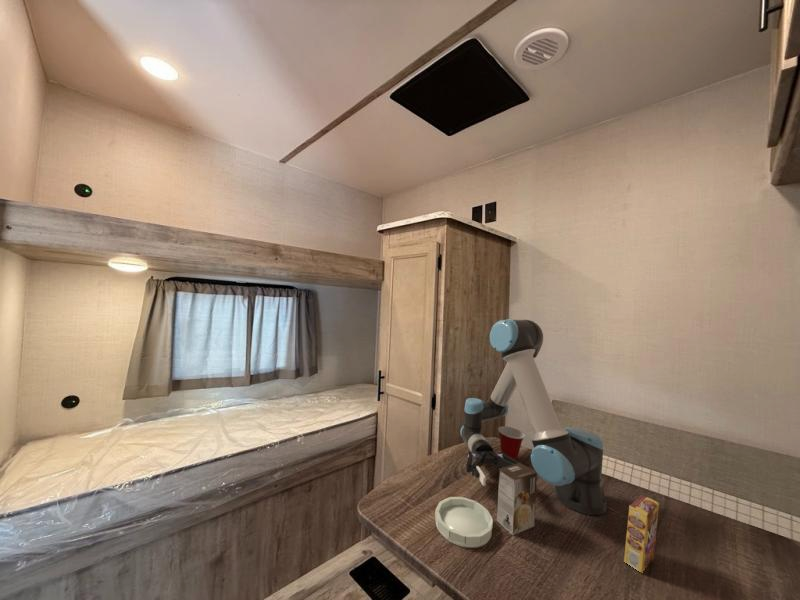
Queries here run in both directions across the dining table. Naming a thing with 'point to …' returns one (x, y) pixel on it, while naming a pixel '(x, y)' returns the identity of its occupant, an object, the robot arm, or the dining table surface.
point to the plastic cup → (510, 441)
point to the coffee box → (516, 498)
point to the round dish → (464, 522)
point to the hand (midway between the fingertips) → (505, 481)
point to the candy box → (641, 533)
